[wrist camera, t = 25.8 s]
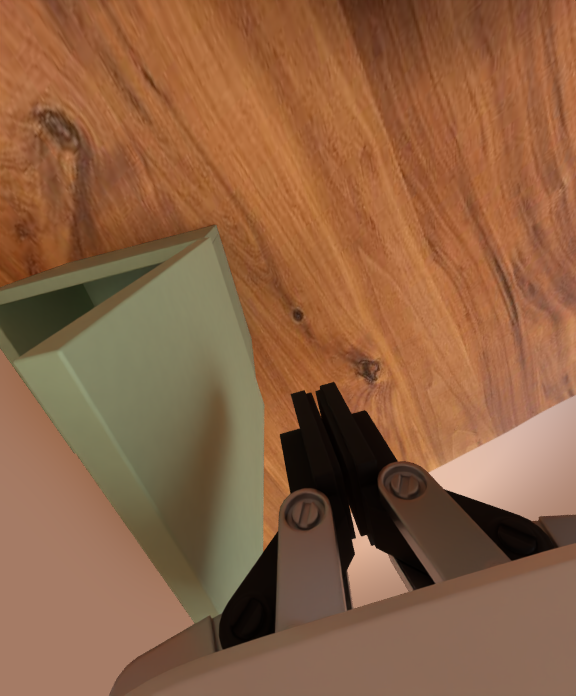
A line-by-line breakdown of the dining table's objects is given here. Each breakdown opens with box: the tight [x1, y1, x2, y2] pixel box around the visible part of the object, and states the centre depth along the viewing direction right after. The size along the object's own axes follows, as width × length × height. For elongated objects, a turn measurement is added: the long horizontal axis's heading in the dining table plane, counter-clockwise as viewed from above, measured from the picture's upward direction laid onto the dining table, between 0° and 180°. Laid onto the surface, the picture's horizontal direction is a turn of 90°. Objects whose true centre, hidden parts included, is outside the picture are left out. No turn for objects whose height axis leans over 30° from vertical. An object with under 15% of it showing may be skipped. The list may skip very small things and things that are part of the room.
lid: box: [13, 237, 264, 623], centre depth 15 cm, size 16×13×1 cm
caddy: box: [0, 225, 256, 453], centre depth 28 cm, size 15×13×13 cm
